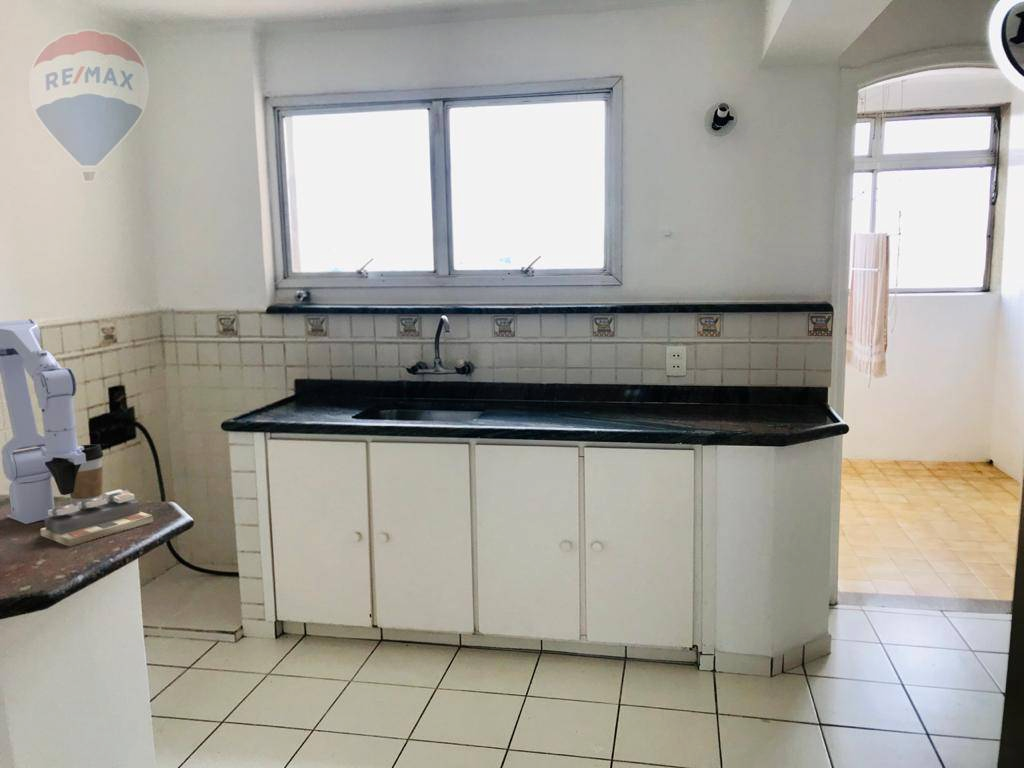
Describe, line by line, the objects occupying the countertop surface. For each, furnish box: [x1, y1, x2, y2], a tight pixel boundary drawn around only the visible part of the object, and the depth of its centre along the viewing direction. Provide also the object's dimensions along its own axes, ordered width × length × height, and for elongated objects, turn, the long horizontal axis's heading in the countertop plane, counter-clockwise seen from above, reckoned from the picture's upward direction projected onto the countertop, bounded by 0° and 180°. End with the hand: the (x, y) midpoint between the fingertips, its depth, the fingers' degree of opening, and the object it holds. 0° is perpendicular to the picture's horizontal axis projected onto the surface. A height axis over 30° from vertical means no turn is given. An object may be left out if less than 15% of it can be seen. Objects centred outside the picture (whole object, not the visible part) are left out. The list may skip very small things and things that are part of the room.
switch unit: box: [39, 499, 154, 547], centre depth 175 cm, size 12×18×4 cm, turn 144°
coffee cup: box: [69, 443, 104, 509], centre depth 188 cm, size 8×8×15 cm
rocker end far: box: [103, 489, 136, 503], centre depth 181 cm, size 6×4×2 cm, turn 54°
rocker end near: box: [48, 503, 80, 517], centre depth 171 cm, size 6×4×2 cm, turn 54°
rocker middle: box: [77, 496, 109, 510], centre depth 176 cm, size 6×4×2 cm, turn 54°
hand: (67, 493), depth 169 cm, fingers closed
